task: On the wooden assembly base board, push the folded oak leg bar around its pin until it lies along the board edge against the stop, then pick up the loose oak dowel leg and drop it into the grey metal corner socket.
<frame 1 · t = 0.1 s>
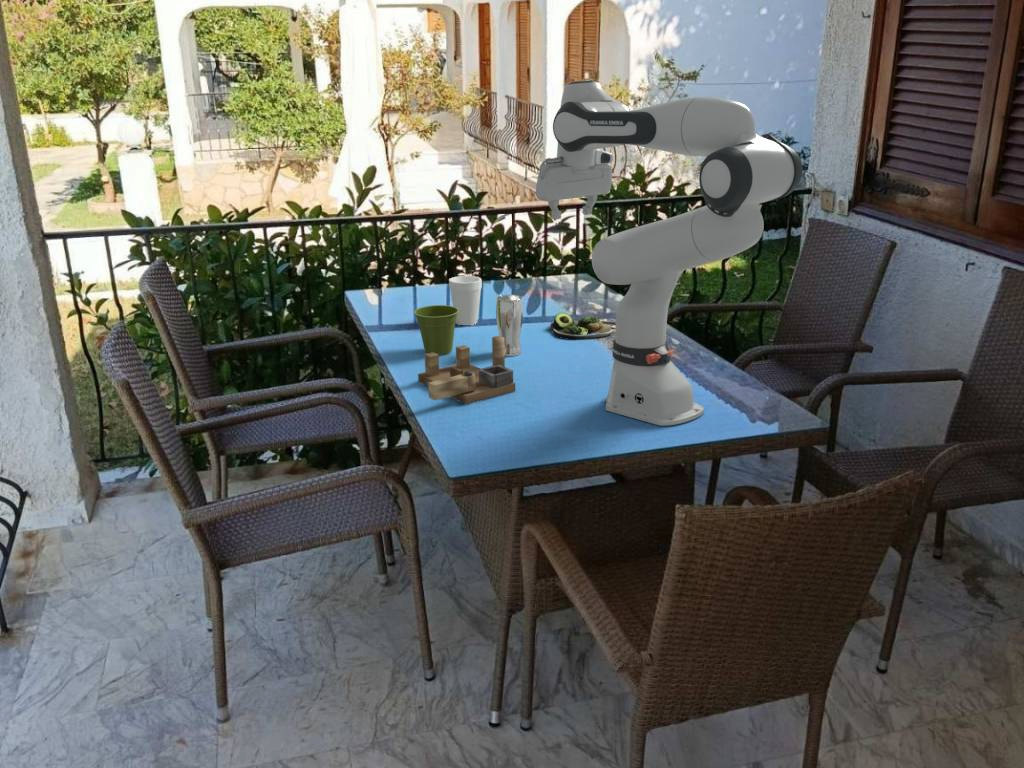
hand: (571, 216, 213), 39 cm above the table, tool pointing down, fingers open, 8 cm apart
oak leg peg: (498, 372, 229), on the table
salad plate: (578, 332, 263), on the table
beer glass: (509, 353, 244), on the table
hinged leg: (453, 384, 207), point 4 cm above the table, hinge at 90.0°
foam cup: (466, 323, 272), on the table
wooden assembly base board: (466, 386, 219), on the table
plant pot: (438, 352, 245), on the table
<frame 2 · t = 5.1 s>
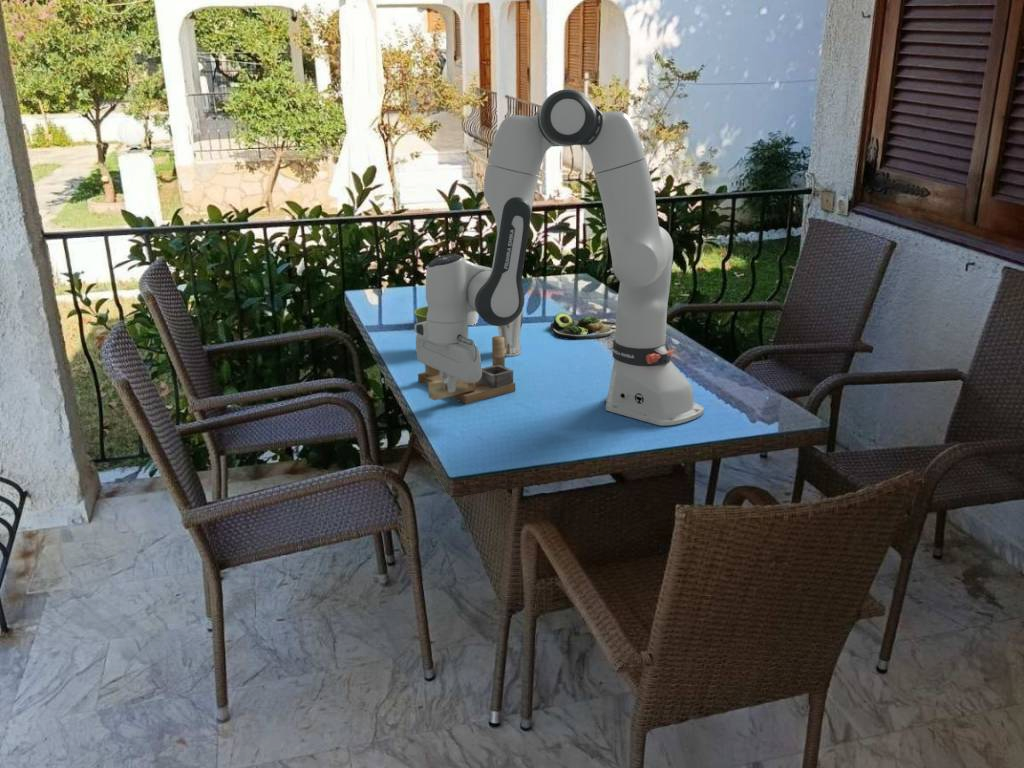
hand: (449, 391, 204), 4 cm above the table, tool pointing down, fingers closed, pressing on hinged leg
hinged leg: (453, 384, 207), point 4 cm above the table, hinge at 89.9°, touching gripper
everything else where it was.
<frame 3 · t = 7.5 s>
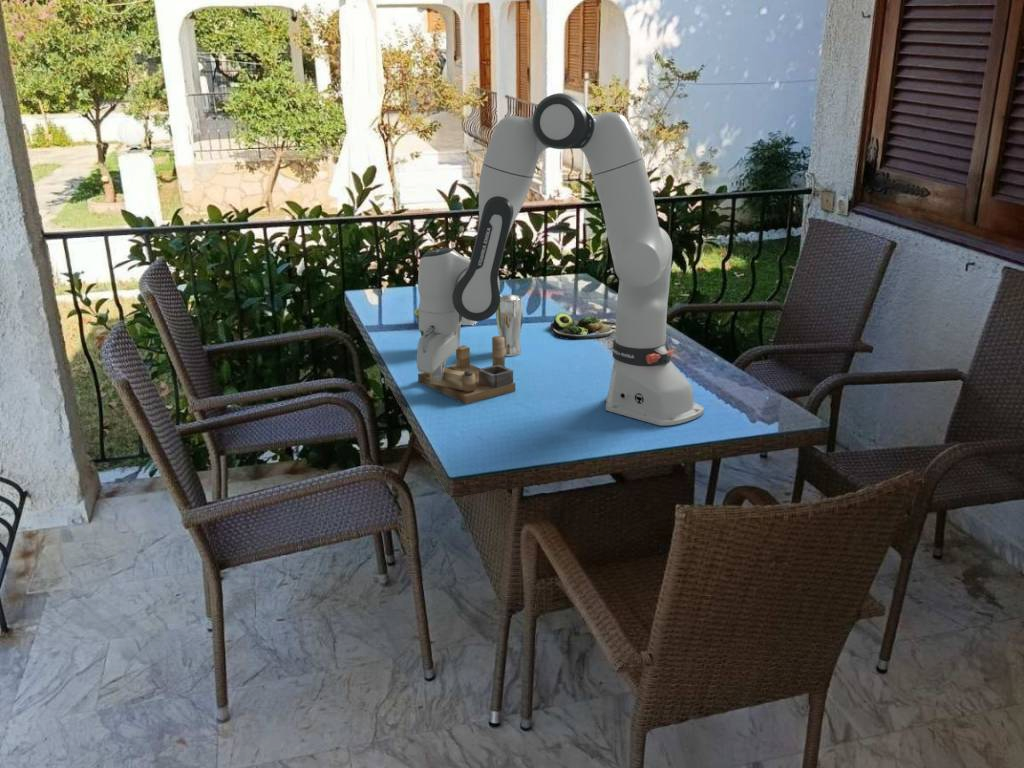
hand: (439, 379, 212), 4 cm above the table, tool pointing down, fingers closed, pressing on hinged leg
hinged leg: (453, 377, 212), point 4 cm above the table, hinge at 20.5°, touching gripper
everything else where it was.
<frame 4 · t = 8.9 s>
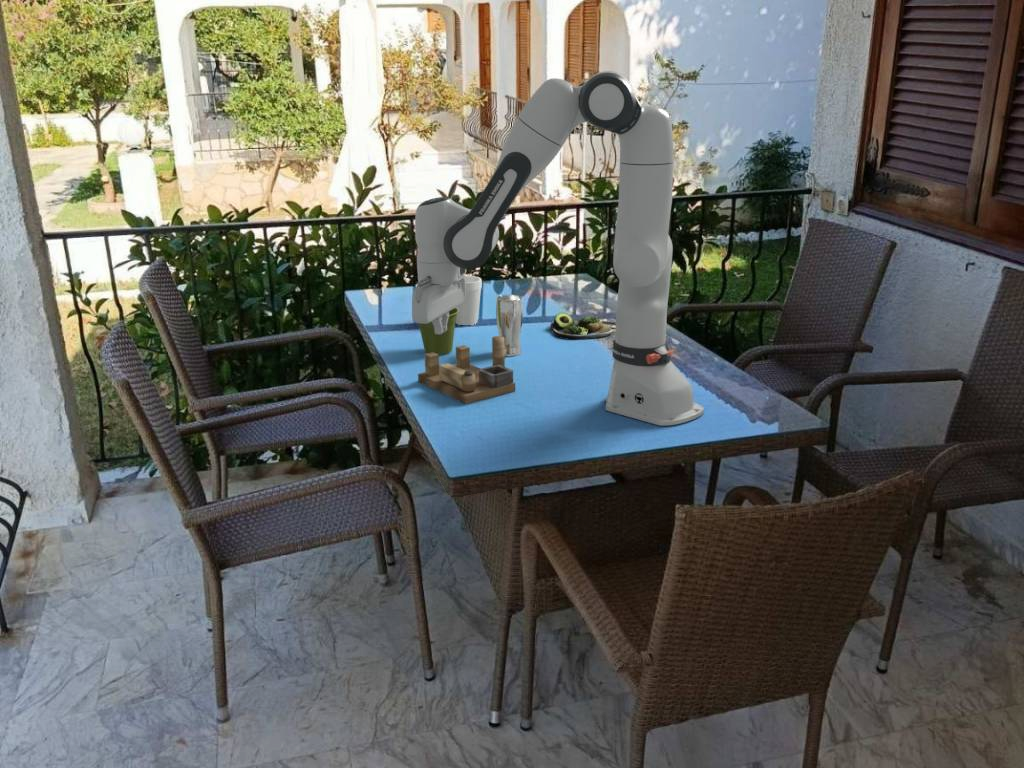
hand: (441, 332, 209), 15 cm above the table, tool pointing down, fingers closed
hinged leg: (457, 376, 213), point 4 cm above the table, hinge at 0.6°
everything else where it was.
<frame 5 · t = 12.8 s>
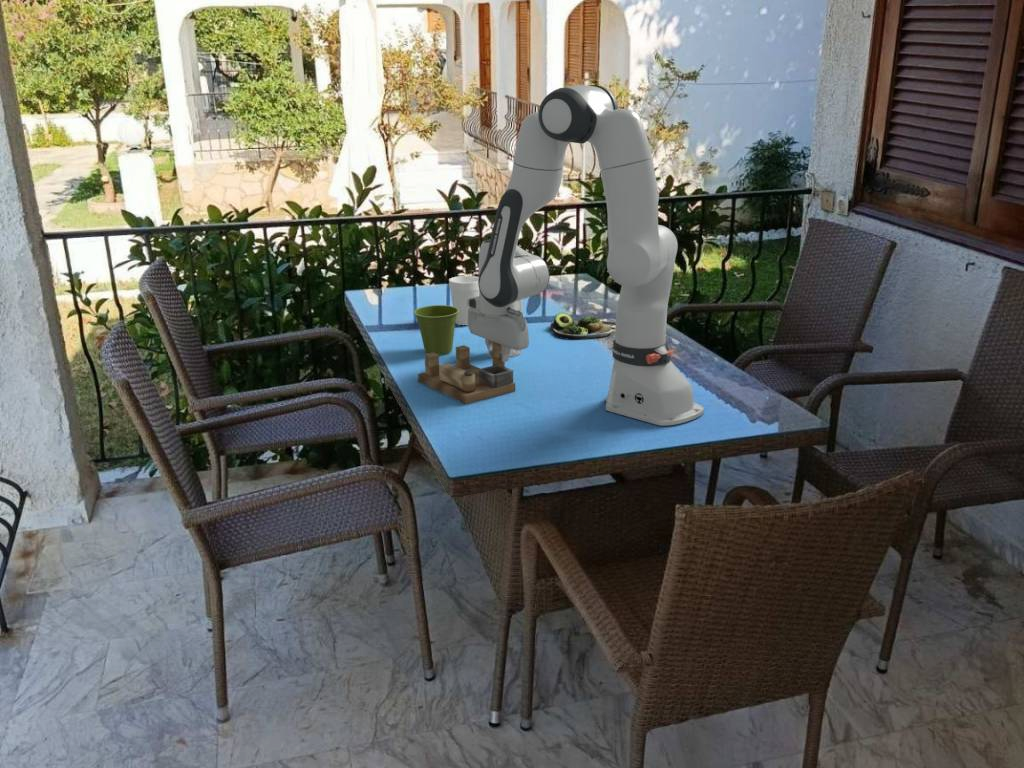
hand: (498, 358, 227), 4 cm above the table, tool pointing down, fingers closed on oak leg peg, 3 cm apart
oak leg peg: (498, 372, 229), on the table, touching gripper
everything else where it was.
when the fingers open (6 cm above the table, at t = 17.3 s): oak leg peg stays where it is, resting on wooden assembly base board.
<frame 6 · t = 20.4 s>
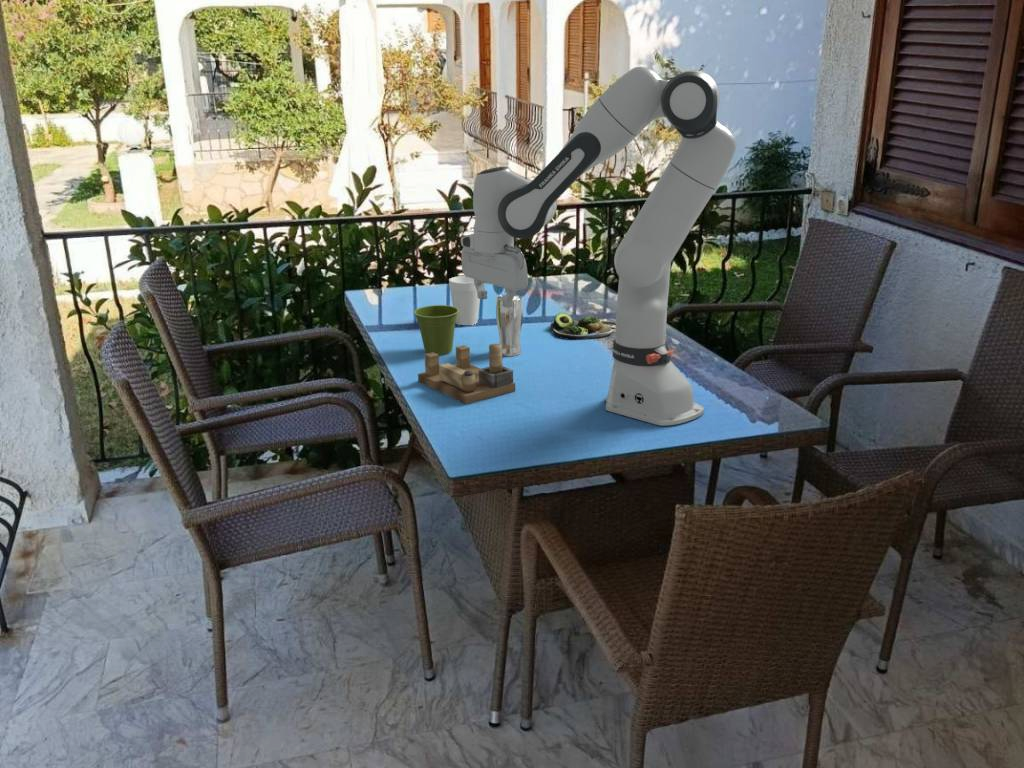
hand: (494, 302, 210), 21 cm above the table, tool pointing down, fingers open, 8 cm apart
oak leg peg: (496, 382, 216), point 2 cm above the table, touching wooden assembly base board
everything else where it was.
at the end: hinged leg at +0° (first picture: +90°); oak leg peg 0.1 cm from the target spot on the wooden assembly base board, point 2.0 cm above the wooden assembly base board's base; oak leg peg tilted 0° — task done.
